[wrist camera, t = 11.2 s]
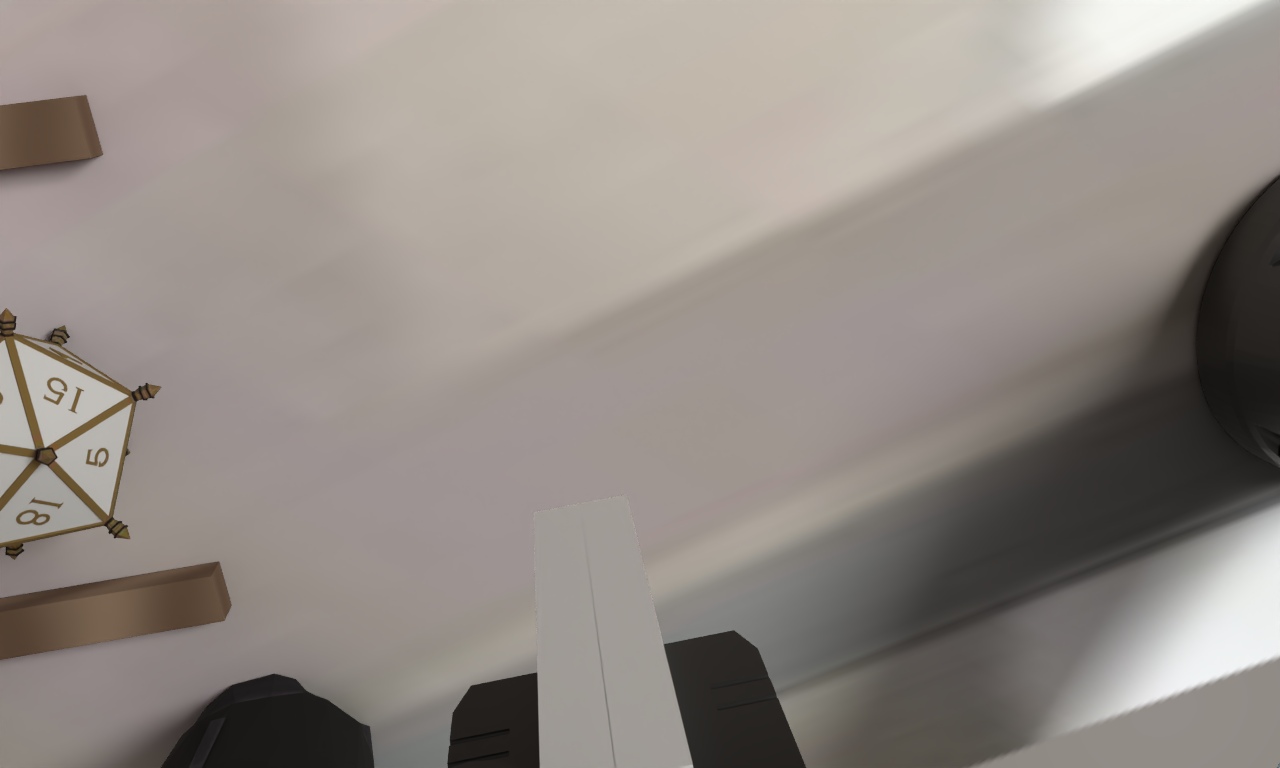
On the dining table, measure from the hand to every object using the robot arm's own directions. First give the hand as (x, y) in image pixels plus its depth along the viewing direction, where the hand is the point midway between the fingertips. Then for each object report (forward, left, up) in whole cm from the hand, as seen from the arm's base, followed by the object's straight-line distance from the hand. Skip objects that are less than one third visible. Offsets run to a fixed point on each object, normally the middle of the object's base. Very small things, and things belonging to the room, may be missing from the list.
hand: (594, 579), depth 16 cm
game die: (+18, +2, -24) cm, 30 cm away
